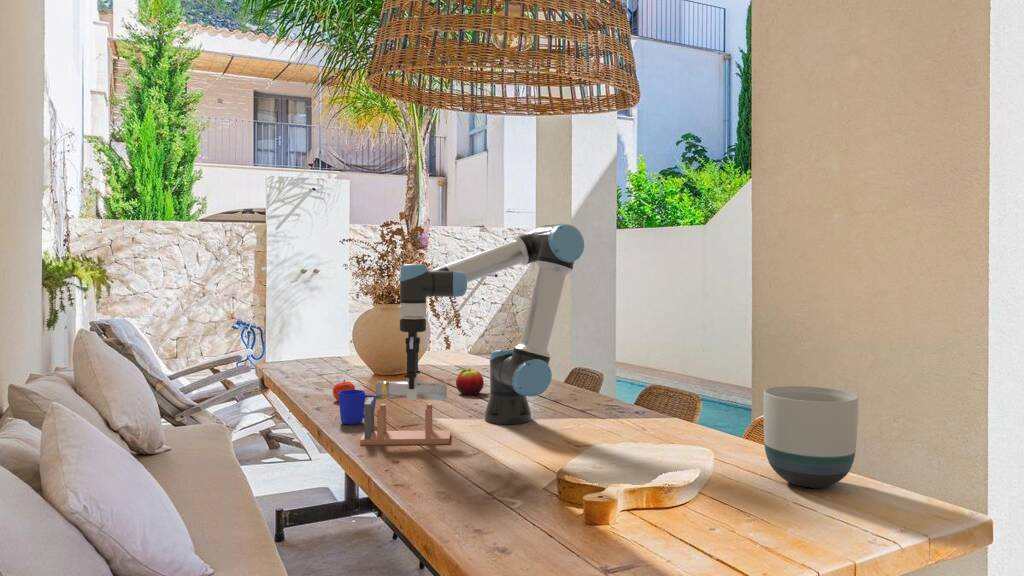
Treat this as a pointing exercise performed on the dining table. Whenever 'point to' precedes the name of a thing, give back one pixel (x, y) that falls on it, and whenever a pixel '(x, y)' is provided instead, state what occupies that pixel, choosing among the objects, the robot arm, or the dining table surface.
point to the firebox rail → (398, 436)
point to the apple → (342, 388)
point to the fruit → (469, 382)
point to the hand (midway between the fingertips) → (412, 398)
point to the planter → (810, 433)
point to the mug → (352, 406)
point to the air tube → (400, 390)
